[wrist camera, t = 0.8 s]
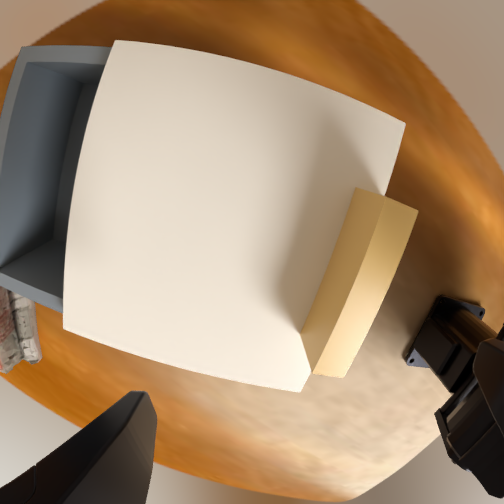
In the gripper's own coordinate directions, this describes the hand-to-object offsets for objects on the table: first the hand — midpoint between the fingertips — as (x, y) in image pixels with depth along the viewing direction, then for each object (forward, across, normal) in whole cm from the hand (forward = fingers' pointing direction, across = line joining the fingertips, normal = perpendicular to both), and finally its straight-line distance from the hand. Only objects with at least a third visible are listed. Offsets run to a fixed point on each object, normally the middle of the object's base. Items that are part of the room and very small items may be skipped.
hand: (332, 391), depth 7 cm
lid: (+6, +3, -3) cm, 7 cm away
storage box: (+13, +9, -5) cm, 16 cm away
